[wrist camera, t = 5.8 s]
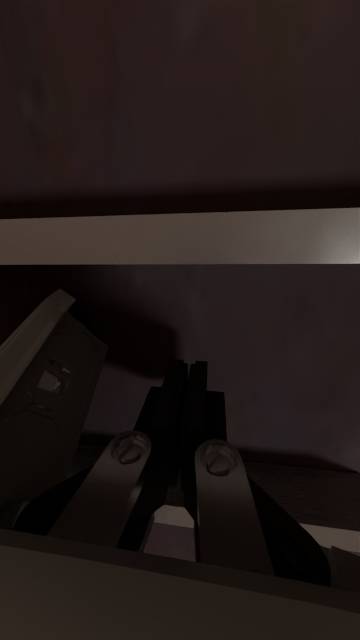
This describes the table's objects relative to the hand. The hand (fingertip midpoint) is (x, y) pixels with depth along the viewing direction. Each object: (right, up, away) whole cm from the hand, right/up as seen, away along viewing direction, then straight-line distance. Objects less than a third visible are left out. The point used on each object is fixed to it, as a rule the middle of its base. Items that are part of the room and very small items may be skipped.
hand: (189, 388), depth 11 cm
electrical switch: (-8, +1, +3) cm, 8 cm away
